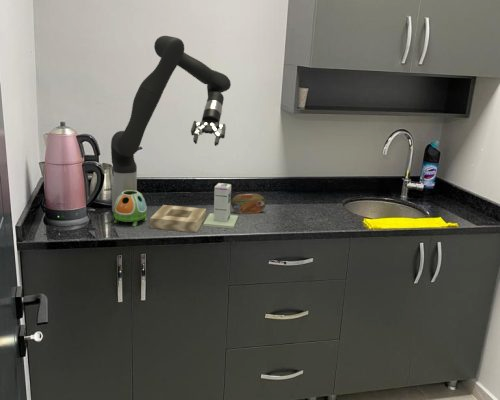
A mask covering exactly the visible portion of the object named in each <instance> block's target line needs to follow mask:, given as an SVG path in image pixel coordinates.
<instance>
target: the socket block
mask: <svg viewBox="0 0 500 400" xmlns="http://www.w3.org/2000/svg"><path fill="white" fill-rule="evenodd" d="M206 219H207V208H203V207H202V208H201V207H193V206H192V207H190V206H180V205H179V206H178V205H170V204H168V205H166V204H162V206H161V207H160V208H159V209H158V210H157V211H156V212H155V213H154V214H153V215H151V216H150V220H149V221H150V222H149V223H150V229H159V230H168V231H178V232H179V231H180V232H188V233H197V232H198V231H199V230H200V228H201V226H202V224H203V223H204V222H205V220H206Z"/></svg>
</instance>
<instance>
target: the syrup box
mask: <svg viewBox="0 0 500 400" xmlns="http://www.w3.org/2000/svg"><path fill="white" fill-rule="evenodd" d="M213 197H214V198H213V199H214V200H213V213H214V221H221V222H227V221H228V220H229V219H230V215H231V208H232V205H231V202H232V184H231V183H226V182H225V183H223V182H222V183H221V182H218V183H217V184H216V185H215V186H214V196H213Z"/></svg>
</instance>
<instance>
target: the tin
mask: <svg viewBox="0 0 500 400" xmlns="http://www.w3.org/2000/svg"><path fill="white" fill-rule="evenodd" d="M266 205H267V202H266V199H265V197H264V196H263V195H261V194H259V193H239V194H236V195H235V196H234V197H232V198H231V208H232V209H233V211H234V212H235V213H236V214H239V215H240V214H241V215H243V214H259V213H261V212H263V210H264V209H265V207H266Z"/></svg>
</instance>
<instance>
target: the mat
mask: <svg viewBox="0 0 500 400" xmlns="http://www.w3.org/2000/svg"><path fill="white" fill-rule="evenodd" d="M238 219H239V215H234V214H230V219H229V220H228V221H227V222H221V221H214V212H212V213H211V212H210V213H209V214H208V215H207V216H206V219H205V220H204V222H203V223H202V224H203V227H211V228H212V227H213V228H220V229H231V230H233V229H234V228H235V226H236V224H237V221H239V220H238Z"/></svg>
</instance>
